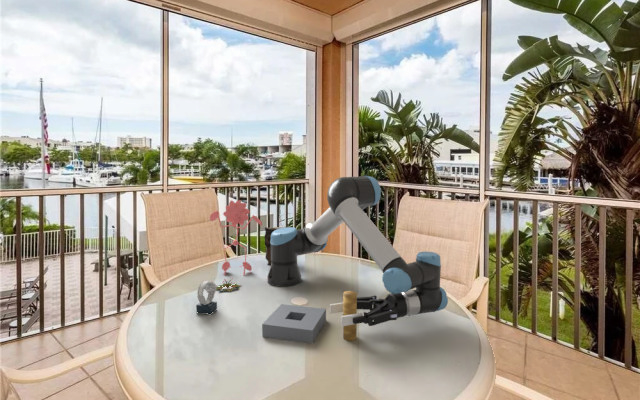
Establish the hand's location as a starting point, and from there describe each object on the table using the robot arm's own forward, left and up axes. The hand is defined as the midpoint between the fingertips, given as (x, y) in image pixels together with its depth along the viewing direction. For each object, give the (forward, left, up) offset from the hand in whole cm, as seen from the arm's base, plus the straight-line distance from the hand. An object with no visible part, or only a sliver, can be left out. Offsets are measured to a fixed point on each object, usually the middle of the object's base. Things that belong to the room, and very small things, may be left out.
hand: (335, 314), depth 105 cm
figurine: (-61, +55, -8) cm, 82 cm away
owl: (-46, +73, -8) cm, 86 cm away
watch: (-49, +9, -8) cm, 51 cm away
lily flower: (-54, +32, -9) cm, 63 cm away
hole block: (-14, +5, -8) cm, 17 cm away
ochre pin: (+4, +3, -8) cm, 9 cm away
